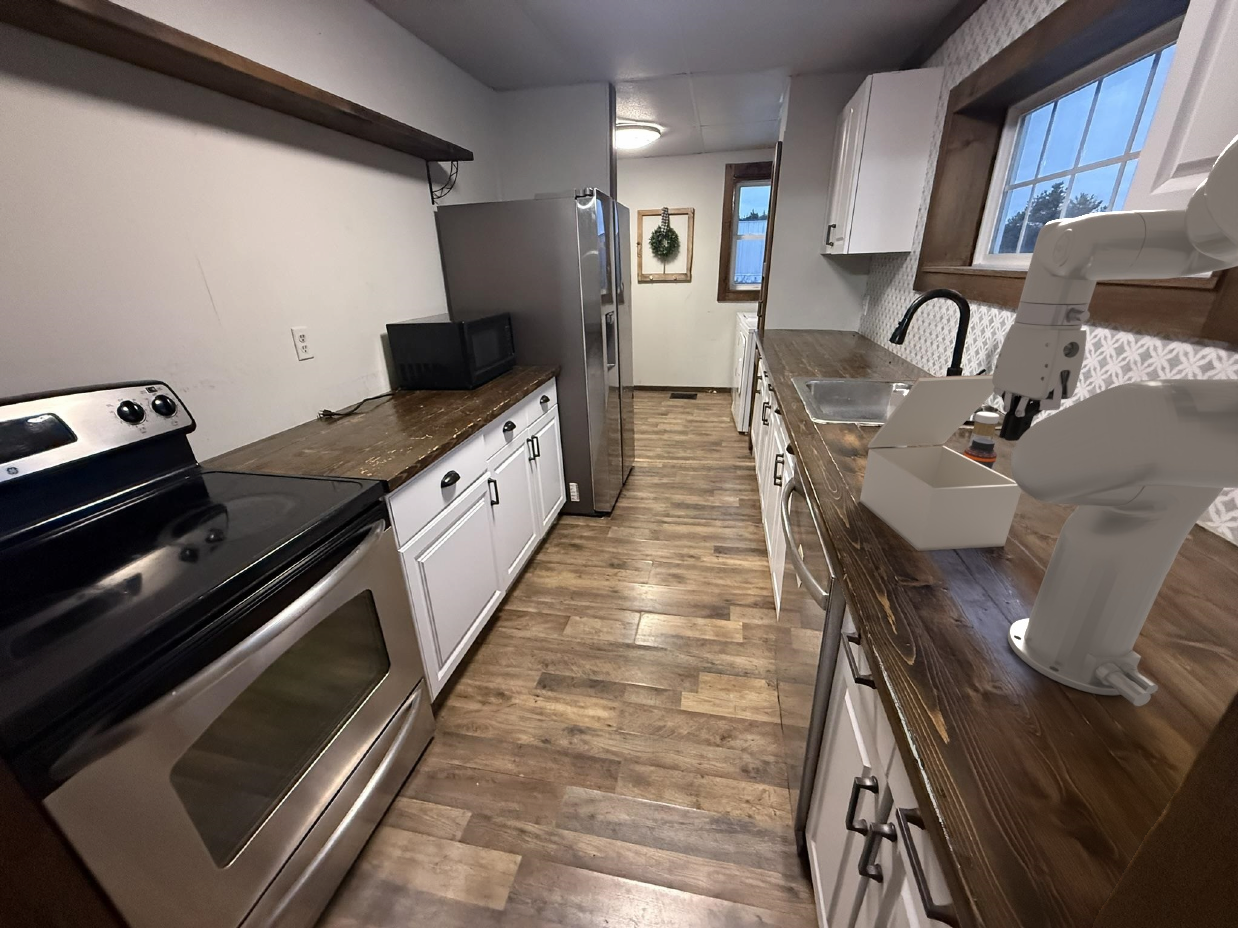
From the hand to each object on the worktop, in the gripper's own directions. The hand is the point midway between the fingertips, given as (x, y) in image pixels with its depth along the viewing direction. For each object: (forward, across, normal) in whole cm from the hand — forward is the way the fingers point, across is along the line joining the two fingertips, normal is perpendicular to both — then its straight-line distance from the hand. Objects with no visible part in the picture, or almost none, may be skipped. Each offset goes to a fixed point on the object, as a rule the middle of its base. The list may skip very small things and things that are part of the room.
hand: (1012, 438), depth 76 cm
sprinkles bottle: (+23, +39, -30) cm, 54 cm away
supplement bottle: (+23, +27, -20) cm, 41 cm away
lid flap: (+2, +18, 0) cm, 18 cm away
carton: (+22, +13, 0) cm, 26 cm away
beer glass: (+23, +56, -20) cm, 64 cm away
